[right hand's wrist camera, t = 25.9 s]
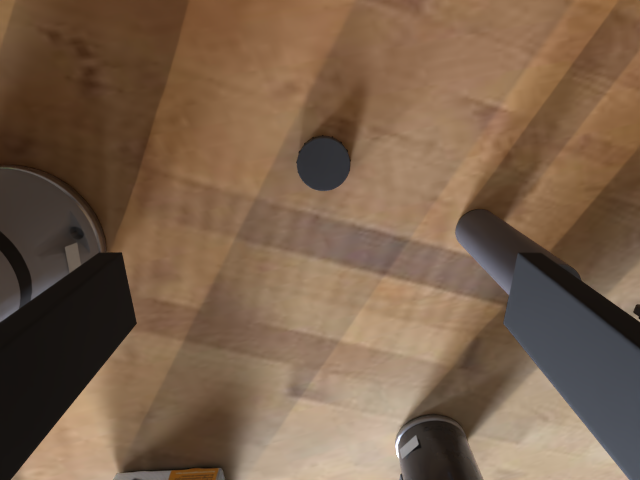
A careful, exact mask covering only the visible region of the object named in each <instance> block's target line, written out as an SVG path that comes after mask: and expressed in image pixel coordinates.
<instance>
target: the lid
mask: <svg viewBox="0 0 640 480" xmlns="http://www.w3.org/2000/svg"><path fill="white" fill-rule="evenodd" d="M347 152H348V151H347V149H345V147H344V146H343V144H342V142H341V141H340V142H339V141H338V140H336V139H335V138H333V137H329V136H323V135H322V136H318V137H315V138H314V137H313V138H312V139H311V140H309V141H308V142H306V143H304V146H303V147H302V149H301V150H300V151H299V156H298V159H297V162H296V163H297V169H298V173H299V175H300V177H301V179H302V181H303V182H304V183H305V184H306V185H308V186H309V187H311V188H313V189H315V190H319V191H328V190H332V189H335V188H336V187H338V186H339V185H341V184H342V183H343V182H344V181H345V179H346V178H347V176H348V173H349V171H350V159H349V155H348V153H347Z"/></svg>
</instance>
